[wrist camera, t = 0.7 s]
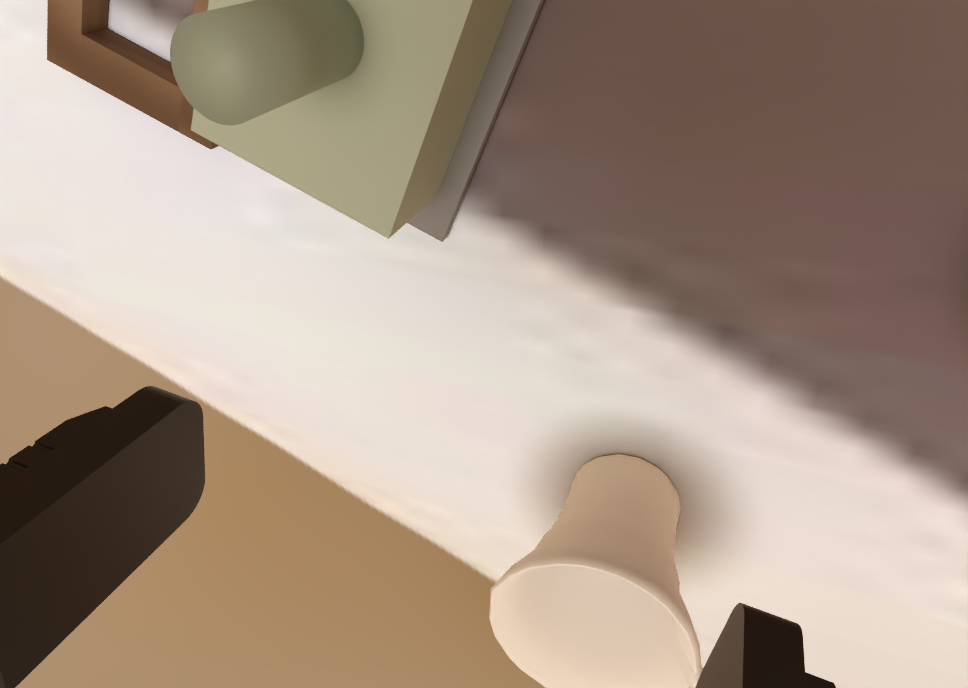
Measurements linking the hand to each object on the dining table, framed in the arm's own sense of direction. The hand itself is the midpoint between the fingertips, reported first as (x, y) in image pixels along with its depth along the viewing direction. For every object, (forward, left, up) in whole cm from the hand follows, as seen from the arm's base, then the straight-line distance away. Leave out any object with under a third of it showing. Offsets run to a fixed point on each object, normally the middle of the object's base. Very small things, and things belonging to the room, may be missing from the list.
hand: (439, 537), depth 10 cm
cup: (+17, +8, -23) cm, 30 cm away
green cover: (+1, -11, -22) cm, 25 cm away
